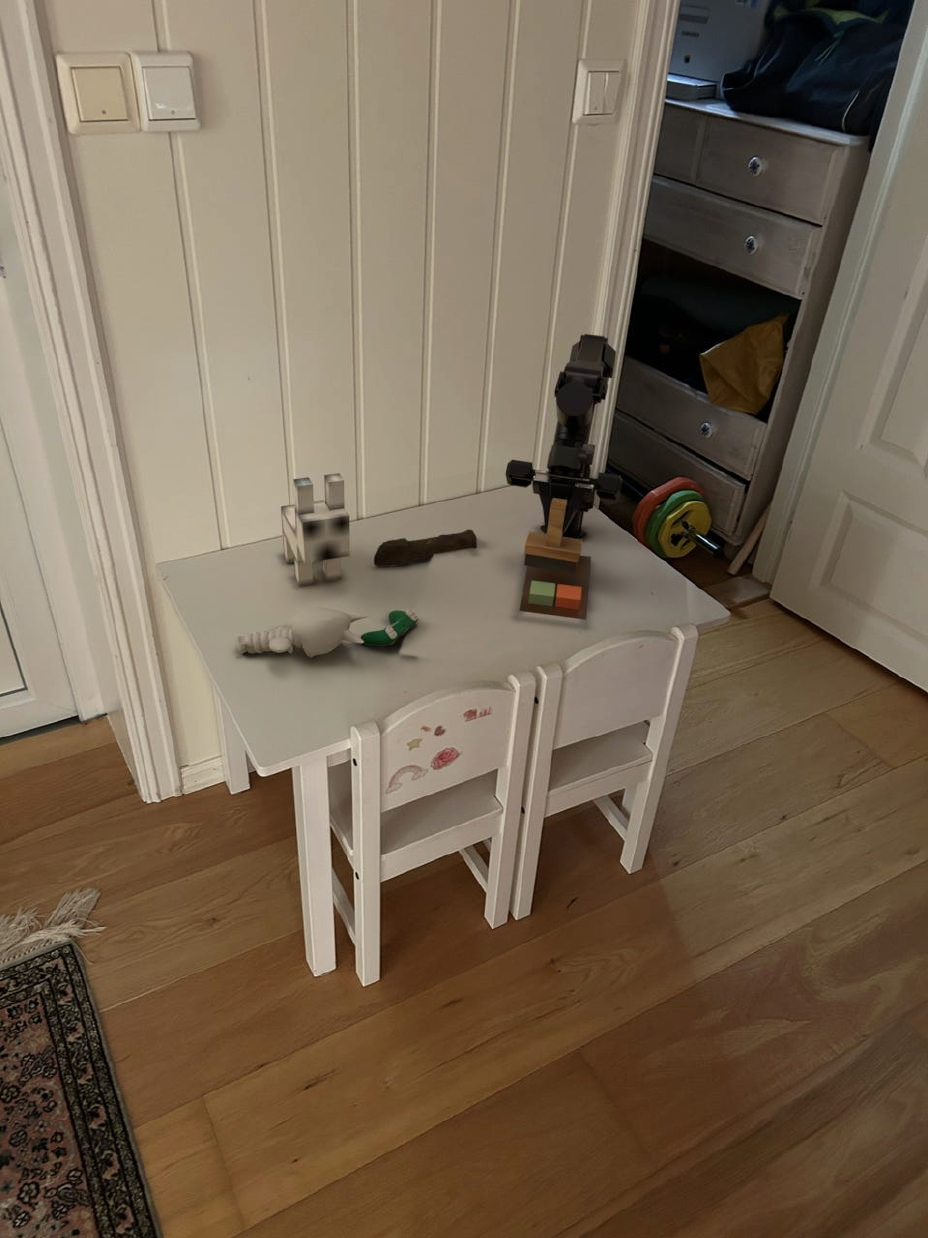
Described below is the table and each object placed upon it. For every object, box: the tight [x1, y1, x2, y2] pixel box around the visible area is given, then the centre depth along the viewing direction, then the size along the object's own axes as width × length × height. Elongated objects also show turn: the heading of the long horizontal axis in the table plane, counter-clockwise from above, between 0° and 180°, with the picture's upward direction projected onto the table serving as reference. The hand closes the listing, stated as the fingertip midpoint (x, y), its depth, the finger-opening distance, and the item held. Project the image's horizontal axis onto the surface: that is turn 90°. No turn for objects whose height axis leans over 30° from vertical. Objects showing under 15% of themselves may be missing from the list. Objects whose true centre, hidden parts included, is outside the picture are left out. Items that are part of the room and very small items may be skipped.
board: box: [518, 554, 592, 621], centre depth 160 cm, size 20×11×2 cm, turn 171°
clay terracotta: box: [555, 584, 582, 610], centre depth 154 cm, size 4×4×2 cm
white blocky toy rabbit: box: [280, 472, 351, 587], centre depth 155 cm, size 8×18×20 cm, turn 23°
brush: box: [523, 498, 583, 574], centre depth 153 cm, size 4×9×12 cm, turn 78°
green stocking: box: [360, 608, 419, 647], centre depth 145 cm, size 9×4×6 cm
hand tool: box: [373, 529, 478, 567], centre depth 165 cm, size 19×4×5 cm, turn 111°
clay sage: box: [529, 581, 555, 606], centre depth 155 cm, size 4×4×2 cm
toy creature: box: [236, 607, 370, 659], centre depth 140 cm, size 13×7×20 cm
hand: (554, 530), depth 151 cm, fingers closed on brush, 2 cm apart
